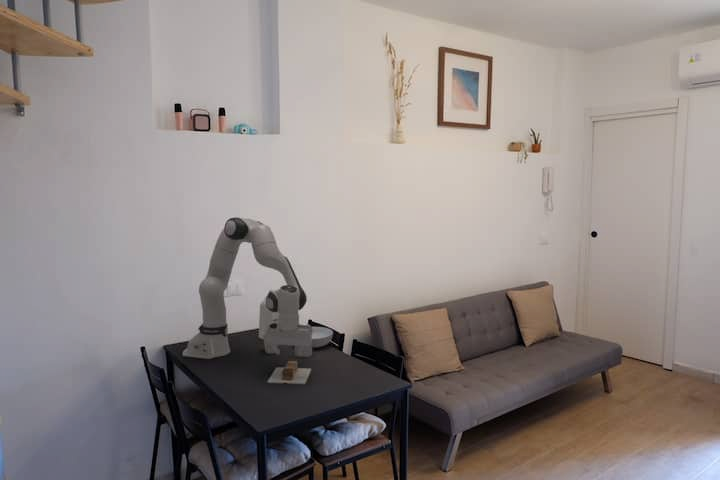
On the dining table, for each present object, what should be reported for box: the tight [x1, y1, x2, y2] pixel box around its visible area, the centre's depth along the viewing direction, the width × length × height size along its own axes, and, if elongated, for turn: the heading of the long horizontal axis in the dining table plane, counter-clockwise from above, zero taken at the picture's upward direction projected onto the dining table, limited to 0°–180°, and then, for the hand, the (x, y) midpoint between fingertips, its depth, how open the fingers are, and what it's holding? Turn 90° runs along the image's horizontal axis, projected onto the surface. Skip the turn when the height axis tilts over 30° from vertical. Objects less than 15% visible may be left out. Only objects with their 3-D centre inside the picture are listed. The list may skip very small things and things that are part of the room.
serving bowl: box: [311, 326, 334, 349], centre depth 255 cm, size 21×21×7 cm
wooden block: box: [282, 360, 298, 381], centre depth 214 cm, size 12×4×4 cm, turn 176°
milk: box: [258, 289, 279, 340], centre depth 265 cm, size 12×12×26 cm
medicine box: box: [294, 344, 313, 358], centre depth 239 cm, size 8×4×9 cm, turn 84°
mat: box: [267, 367, 312, 385], centre depth 214 cm, size 16×16×1 cm
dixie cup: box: [262, 331, 279, 354], centre depth 244 cm, size 8×8×10 cm
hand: (288, 354), depth 212 cm, fingers open, 8 cm apart
